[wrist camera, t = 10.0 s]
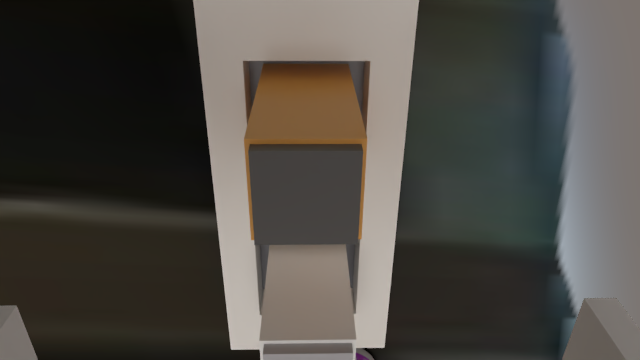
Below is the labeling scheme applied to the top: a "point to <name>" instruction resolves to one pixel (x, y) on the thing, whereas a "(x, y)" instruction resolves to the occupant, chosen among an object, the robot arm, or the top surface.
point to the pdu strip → (377, 113)
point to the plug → (305, 156)
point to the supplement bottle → (362, 355)
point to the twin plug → (307, 304)
